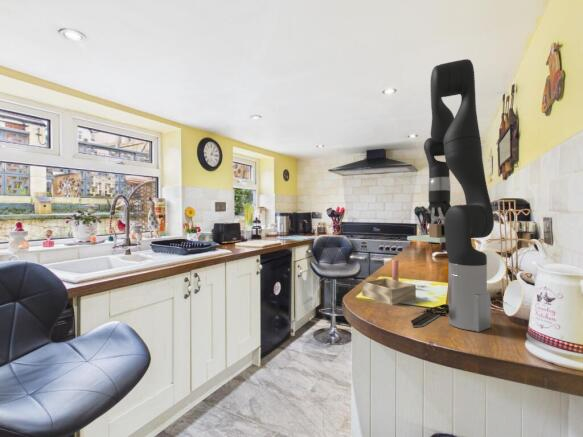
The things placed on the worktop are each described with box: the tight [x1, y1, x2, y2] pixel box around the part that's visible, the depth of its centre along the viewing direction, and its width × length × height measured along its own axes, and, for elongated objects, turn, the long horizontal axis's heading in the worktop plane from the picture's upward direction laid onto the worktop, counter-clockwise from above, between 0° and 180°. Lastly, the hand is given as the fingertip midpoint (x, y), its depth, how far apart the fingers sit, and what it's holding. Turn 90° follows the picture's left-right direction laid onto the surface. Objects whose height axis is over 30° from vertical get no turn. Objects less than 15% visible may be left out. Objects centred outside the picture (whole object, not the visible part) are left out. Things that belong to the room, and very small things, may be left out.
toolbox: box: [361, 277, 417, 306], centre depth 111 cm, size 14×12×6 cm
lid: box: [407, 223, 446, 244], centre depth 121 cm, size 14×12×6 cm
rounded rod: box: [391, 259, 399, 281], centre depth 125 cm, size 2×2×12 cm
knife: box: [410, 303, 449, 328], centre depth 94 cm, size 25×6×1 cm, turn 129°
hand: (439, 234), depth 118 cm, fingers closed on lid, 3 cm apart
